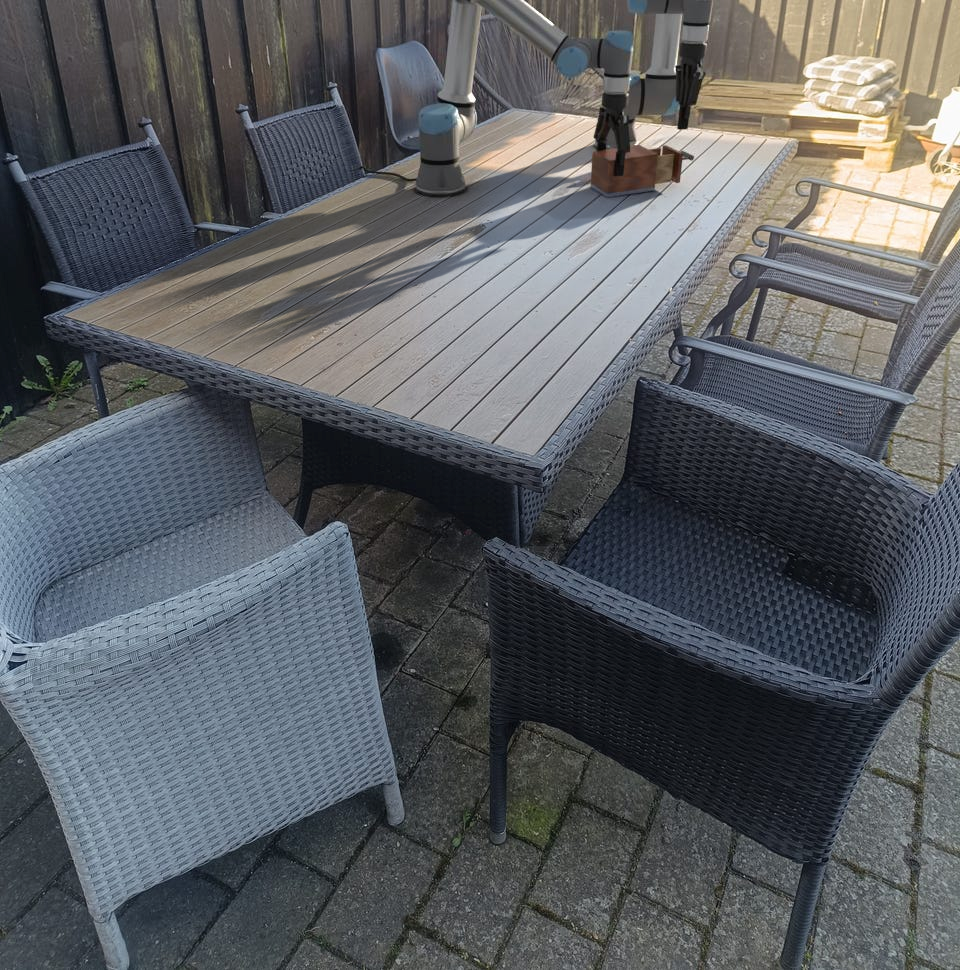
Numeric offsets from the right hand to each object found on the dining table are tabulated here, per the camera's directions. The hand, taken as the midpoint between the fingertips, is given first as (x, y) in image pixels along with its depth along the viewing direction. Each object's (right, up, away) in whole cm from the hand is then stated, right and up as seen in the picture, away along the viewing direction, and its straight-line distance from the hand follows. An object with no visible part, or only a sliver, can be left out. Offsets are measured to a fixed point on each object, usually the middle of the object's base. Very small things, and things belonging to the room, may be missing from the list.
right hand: (682, 128), depth 255 cm
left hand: (-22, -13, -1) cm, 26 cm away
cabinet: (-18, -17, +4) cm, 24 cm away
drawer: (-6, -13, +7) cm, 16 cm away
